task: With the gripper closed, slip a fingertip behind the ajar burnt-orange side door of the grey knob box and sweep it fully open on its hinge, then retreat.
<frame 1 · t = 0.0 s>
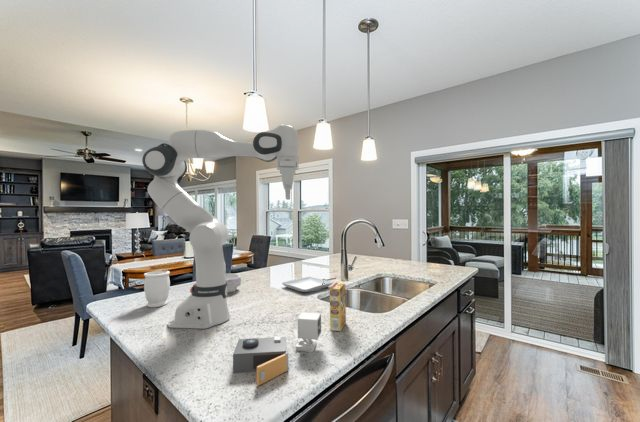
hand: (287, 199, 118), 48 cm above the worktop, fingers open, 8 cm apart
jar: (157, 305, 134), on the worktop
grey knob box: (261, 362, 82), on the worktop
candy box: (338, 327, 107), on the worktop
paper bowls: (226, 291, 157), on the worktop
door: (274, 368, 75), point 2 cm above the worktop, hinge at 40.0°
salad plate: (307, 288, 162), on the worktop
security camera: (308, 347, 91), on the worktop
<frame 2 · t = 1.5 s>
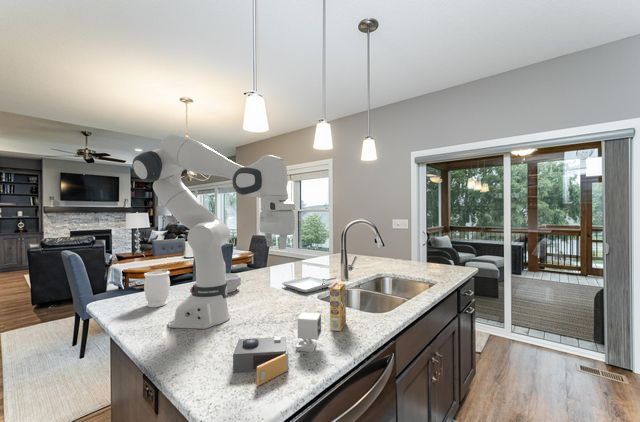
hand: (275, 247, 94), 31 cm above the worktop, fingers open, 8 cm apart
nothing on the worktop moved.
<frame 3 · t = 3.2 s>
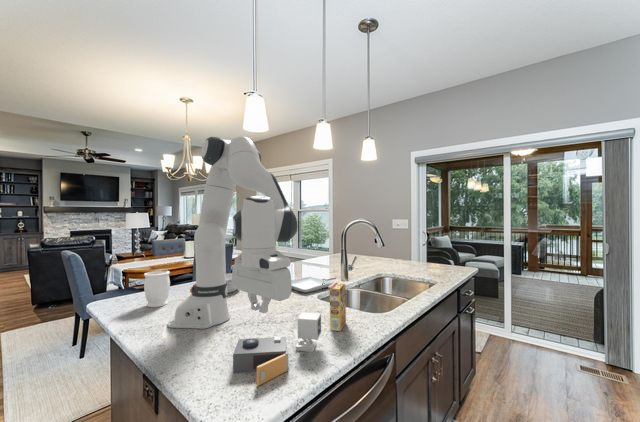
hand: (259, 311, 75), 17 cm above the worktop, fingers closed
nothing on the worktop moved.
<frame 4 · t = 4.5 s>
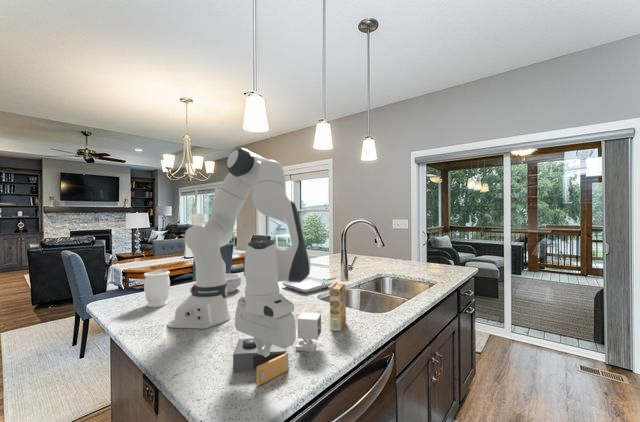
hand: (263, 354, 76), 6 cm above the worktop, fingers closed
nothing on the worktop moved.
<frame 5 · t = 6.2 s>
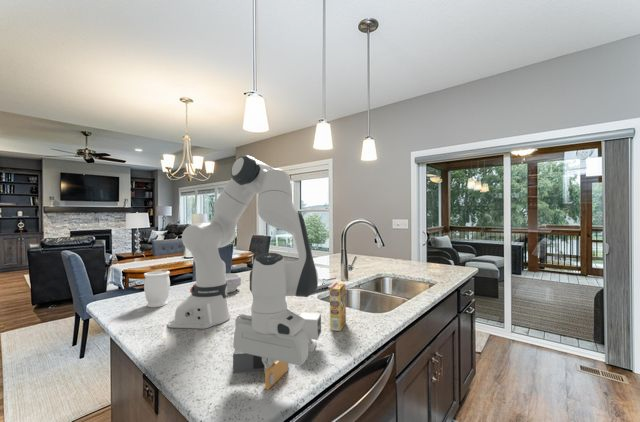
hand: (269, 373, 73), 2 cm above the worktop, fingers closed, pressing on door
door: (278, 370, 74), point 2 cm above the worktop, hinge at 59.4°, touching gripper
everything else where it was.
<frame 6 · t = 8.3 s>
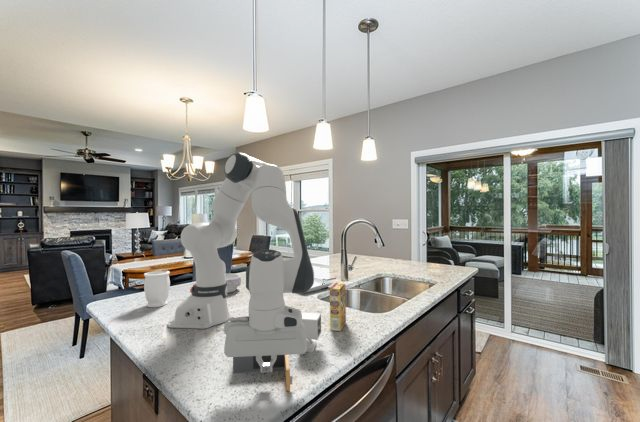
hand: (266, 371, 72), 3 cm above the worktop, fingers closed
door: (288, 370, 74), point 2 cm above the worktop, hinge at 93.3°
everything else where it was.
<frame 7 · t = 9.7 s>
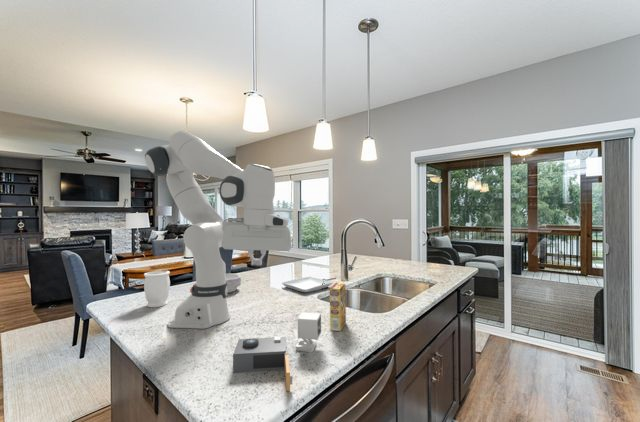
hand: (256, 264, 86), 27 cm above the worktop, fingers closed
nothing on the worktop moved.
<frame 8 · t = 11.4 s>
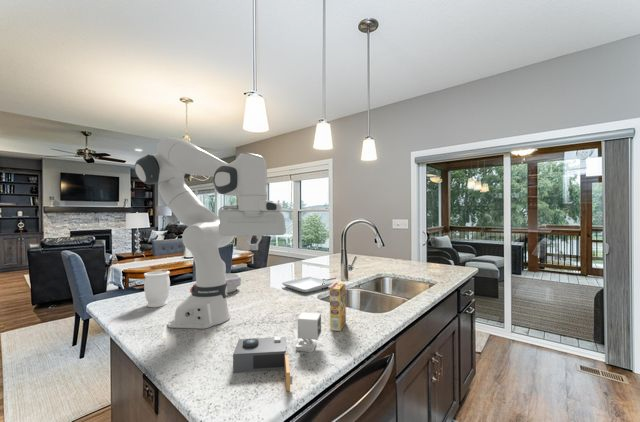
hand: (253, 250, 89), 31 cm above the worktop, fingers closed
nothing on the worktop moved.
at the end: door at +93° (first picture: +40°) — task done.
